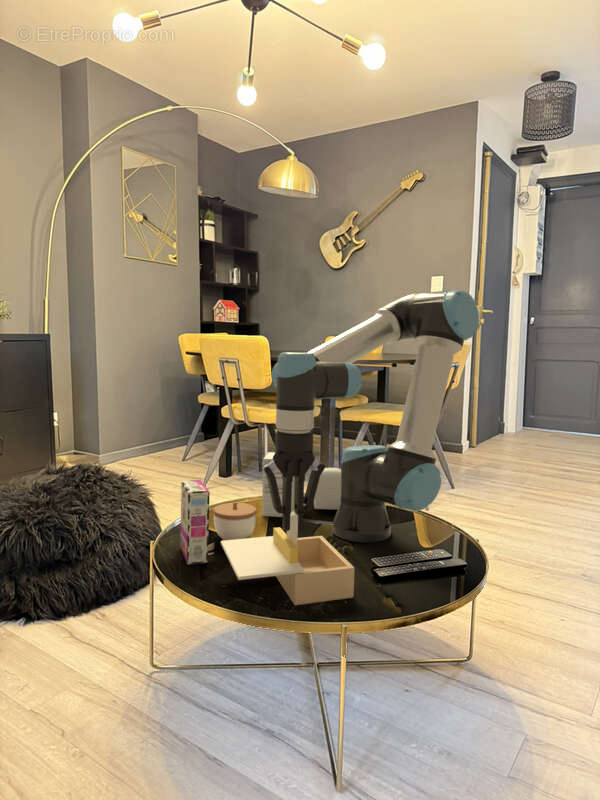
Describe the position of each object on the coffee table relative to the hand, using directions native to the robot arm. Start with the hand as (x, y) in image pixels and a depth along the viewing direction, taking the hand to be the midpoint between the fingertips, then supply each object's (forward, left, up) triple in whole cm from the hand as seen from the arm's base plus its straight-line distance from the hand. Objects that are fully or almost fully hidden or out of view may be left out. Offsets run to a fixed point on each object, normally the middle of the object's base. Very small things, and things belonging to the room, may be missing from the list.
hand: (291, 544), depth 108 cm
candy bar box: (+17, -20, -8) cm, 28 cm away
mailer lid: (+7, 0, -2) cm, 7 cm away
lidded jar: (+6, -28, -9) cm, 30 cm away
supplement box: (-11, -46, -8) cm, 48 cm away
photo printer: (-27, -46, -9) cm, 54 cm away
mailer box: (-4, 0, -8) cm, 9 cm away
